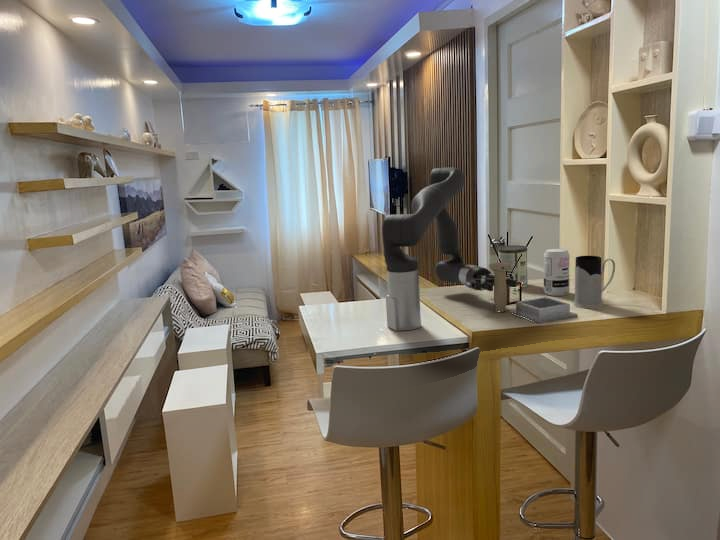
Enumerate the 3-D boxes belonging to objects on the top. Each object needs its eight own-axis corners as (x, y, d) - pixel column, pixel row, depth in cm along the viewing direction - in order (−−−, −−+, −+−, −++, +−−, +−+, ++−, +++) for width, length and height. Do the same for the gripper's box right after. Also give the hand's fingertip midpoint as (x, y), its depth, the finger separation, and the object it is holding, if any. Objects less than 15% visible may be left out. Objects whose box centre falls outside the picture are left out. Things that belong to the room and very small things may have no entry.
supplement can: (548, 290, 210) (548, 247, 207) (572, 292, 205) (572, 248, 202) (540, 295, 203) (540, 251, 201) (565, 297, 199) (565, 252, 196)
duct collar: (538, 323, 172) (538, 311, 171) (509, 313, 185) (509, 301, 184) (577, 316, 177) (577, 304, 176) (546, 306, 190) (546, 295, 189)
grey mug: (567, 303, 191) (567, 257, 188) (604, 297, 195) (604, 252, 192) (585, 309, 183) (585, 261, 180) (623, 303, 187) (624, 256, 184)
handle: (513, 312, 185) (512, 264, 182) (493, 314, 184) (492, 266, 181) (507, 308, 190) (506, 261, 187) (488, 310, 189) (486, 263, 186)
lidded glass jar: (504, 281, 227) (503, 244, 225) (531, 283, 222) (530, 245, 219) (494, 287, 219) (493, 249, 216) (522, 289, 213) (522, 250, 211)
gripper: (455, 268, 195) (483, 277, 181) (493, 263, 200) (523, 270, 186) (456, 291, 197) (484, 301, 182) (493, 285, 202) (523, 294, 187)
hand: (503, 285), depth 184 cm, fingers open, 8 cm apart
